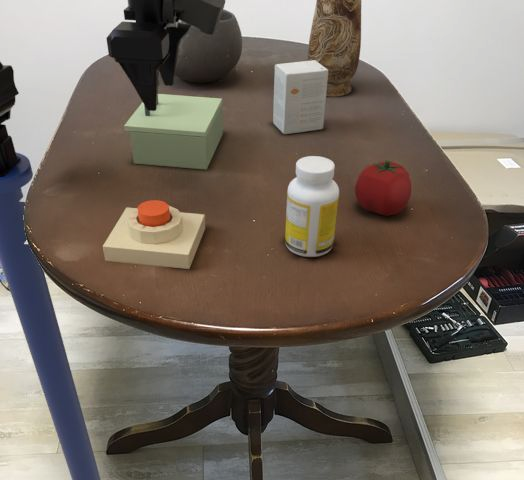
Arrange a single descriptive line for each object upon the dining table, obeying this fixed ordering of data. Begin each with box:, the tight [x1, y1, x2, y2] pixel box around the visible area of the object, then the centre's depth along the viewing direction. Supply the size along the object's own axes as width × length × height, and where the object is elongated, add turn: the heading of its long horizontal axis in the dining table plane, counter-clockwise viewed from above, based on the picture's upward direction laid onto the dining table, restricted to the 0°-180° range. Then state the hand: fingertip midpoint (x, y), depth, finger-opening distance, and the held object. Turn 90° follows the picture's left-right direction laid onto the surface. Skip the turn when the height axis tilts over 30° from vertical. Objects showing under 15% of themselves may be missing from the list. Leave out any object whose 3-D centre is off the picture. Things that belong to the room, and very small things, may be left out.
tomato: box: [354, 160, 412, 217], centre depth 85 cm, size 8×8×7 cm
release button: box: [137, 199, 170, 227], centre depth 76 cm, size 4×4×2 cm
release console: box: [102, 205, 206, 270], centre depth 77 cm, size 11×10×4 cm
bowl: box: [174, 8, 243, 84], centre depth 123 cm, size 18×18×13 cm
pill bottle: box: [284, 155, 340, 258], centre depth 75 cm, size 6×6×12 cm
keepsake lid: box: [123, 79, 223, 137], centre depth 96 cm, size 13×15×5 cm
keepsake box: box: [129, 104, 224, 171], centre depth 99 cm, size 12×15×5 cm
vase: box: [307, 0, 362, 97], centre depth 114 cm, size 10×11×30 cm
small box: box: [272, 60, 328, 135], centre depth 105 cm, size 8×6×10 cm
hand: (160, 97), depth 77 cm, fingers open, 9 cm apart
